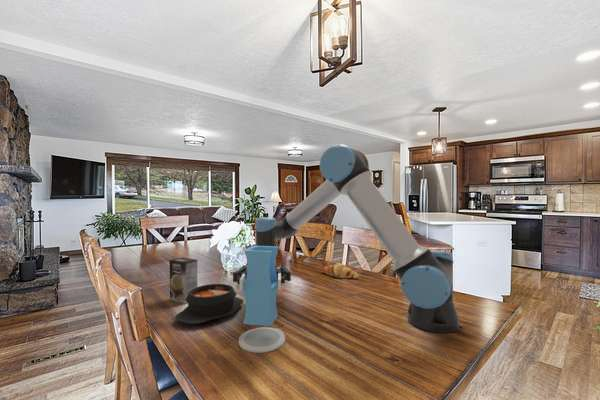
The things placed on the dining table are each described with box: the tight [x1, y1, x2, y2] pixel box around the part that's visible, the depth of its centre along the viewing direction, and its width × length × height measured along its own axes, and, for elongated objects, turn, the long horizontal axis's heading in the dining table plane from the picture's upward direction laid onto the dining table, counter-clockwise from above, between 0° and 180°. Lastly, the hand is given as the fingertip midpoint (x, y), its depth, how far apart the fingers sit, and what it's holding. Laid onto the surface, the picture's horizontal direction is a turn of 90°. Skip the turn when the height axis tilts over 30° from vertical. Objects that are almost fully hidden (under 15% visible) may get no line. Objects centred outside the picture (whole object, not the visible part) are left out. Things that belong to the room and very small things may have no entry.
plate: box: [238, 326, 286, 354], centre depth 80 cm, size 13×13×1 cm
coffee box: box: [169, 257, 198, 305], centre depth 113 cm, size 9×6×16 cm
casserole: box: [174, 283, 245, 325], centre depth 99 cm, size 25×19×8 cm
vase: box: [242, 245, 279, 327], centre depth 80 cm, size 8×8×20 cm
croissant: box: [321, 262, 359, 280], centre depth 146 cm, size 21×10×8 cm, turn 55°
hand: (260, 285), depth 76 cm, fingers closed on vase, 9 cm apart
